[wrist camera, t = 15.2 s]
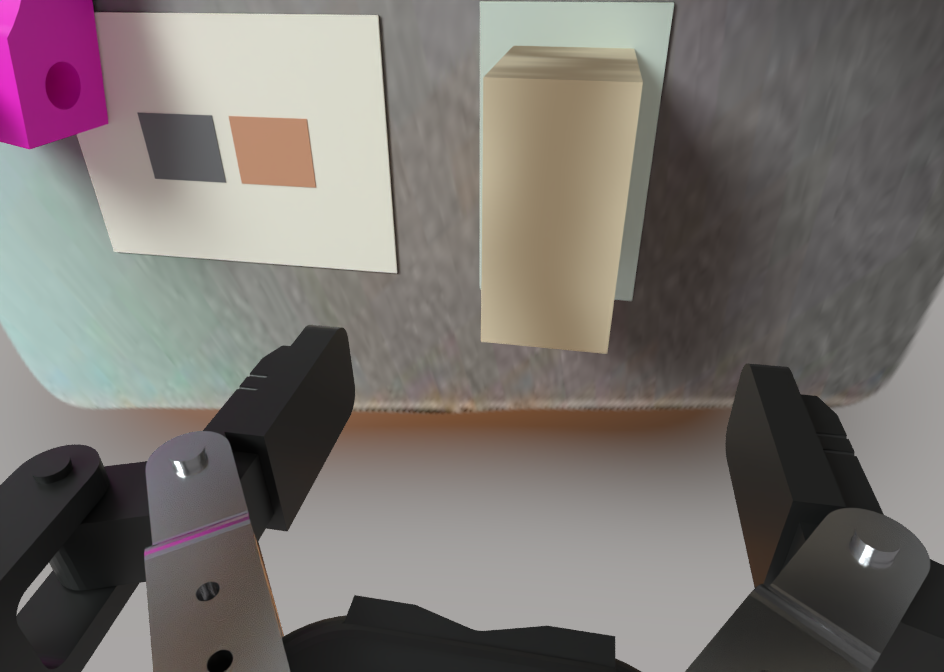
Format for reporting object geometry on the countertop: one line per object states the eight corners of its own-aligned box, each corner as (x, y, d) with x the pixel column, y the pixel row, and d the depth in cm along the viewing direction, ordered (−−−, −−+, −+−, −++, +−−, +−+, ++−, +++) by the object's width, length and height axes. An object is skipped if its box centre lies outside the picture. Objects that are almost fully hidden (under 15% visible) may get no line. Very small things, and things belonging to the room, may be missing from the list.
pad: (480, 1, 24) (480, 1, 24) (674, 2, 23) (674, 2, 23) (480, 288, 30) (479, 289, 30) (632, 300, 29) (632, 301, 29)
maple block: (506, 261, 29) (480, 341, 23) (513, 45, 24) (483, 77, 18) (607, 269, 28) (607, 353, 22) (634, 48, 24) (643, 82, 18)
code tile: (38, 11, 27) (36, 11, 27) (378, 14, 25) (377, 15, 25) (115, 250, 33) (113, 252, 33) (397, 272, 30) (396, 273, 30)
